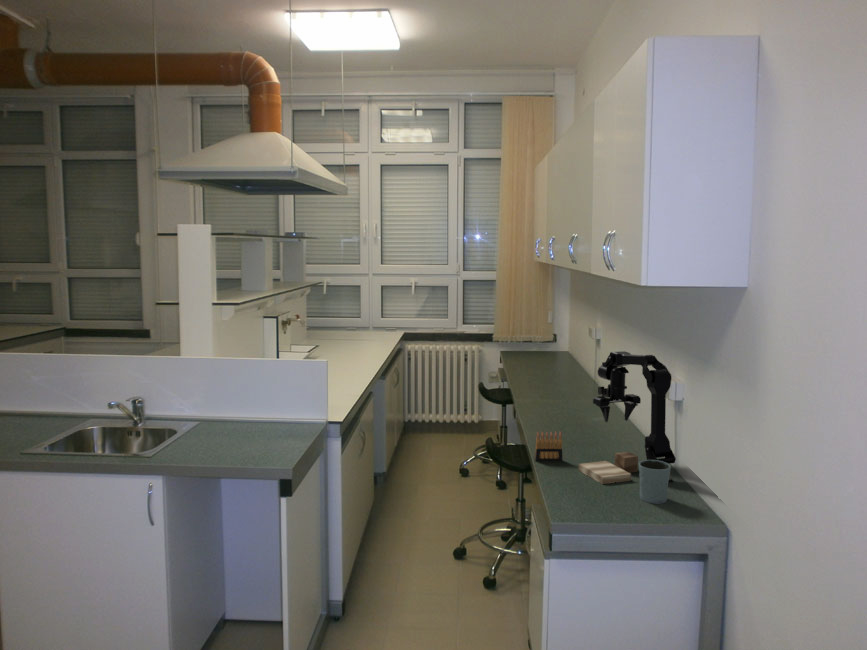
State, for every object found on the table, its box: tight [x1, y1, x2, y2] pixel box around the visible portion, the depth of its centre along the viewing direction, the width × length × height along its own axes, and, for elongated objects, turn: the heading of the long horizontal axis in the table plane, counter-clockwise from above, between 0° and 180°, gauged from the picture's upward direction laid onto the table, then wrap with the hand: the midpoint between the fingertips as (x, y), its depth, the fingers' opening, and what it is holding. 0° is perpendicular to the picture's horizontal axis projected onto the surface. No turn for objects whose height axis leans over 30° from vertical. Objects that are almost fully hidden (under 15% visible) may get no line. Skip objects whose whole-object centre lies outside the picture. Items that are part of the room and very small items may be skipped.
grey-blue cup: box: [638, 459, 672, 505], centre depth 225 cm, size 10×10×12 cm
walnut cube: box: [614, 451, 639, 474], centre depth 256 cm, size 6×6×6 cm
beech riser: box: [578, 460, 632, 485], centre depth 249 cm, size 16×12×2 cm
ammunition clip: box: [534, 430, 563, 463], centre depth 266 cm, size 11×2×12 cm, turn 92°
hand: (616, 421), depth 271 cm, fingers open, 9 cm apart
